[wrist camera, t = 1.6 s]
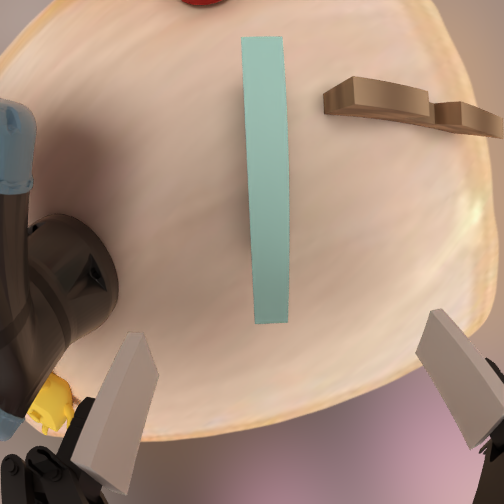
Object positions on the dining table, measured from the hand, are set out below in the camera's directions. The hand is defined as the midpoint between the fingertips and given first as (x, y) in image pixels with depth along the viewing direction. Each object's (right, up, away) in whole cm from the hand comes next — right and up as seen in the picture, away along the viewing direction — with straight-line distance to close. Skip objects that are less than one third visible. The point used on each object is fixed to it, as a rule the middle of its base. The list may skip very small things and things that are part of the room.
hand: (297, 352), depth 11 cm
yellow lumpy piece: (-41, -22, +28) cm, 55 cm away
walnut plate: (+13, +18, +11) cm, 25 cm away
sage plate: (-1, +12, +13) cm, 18 cm away
